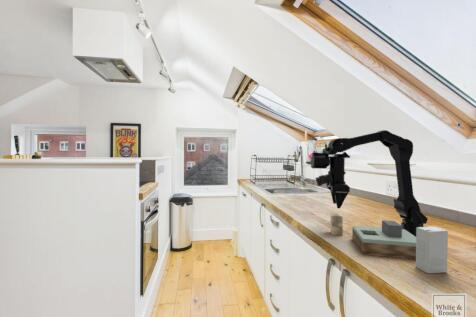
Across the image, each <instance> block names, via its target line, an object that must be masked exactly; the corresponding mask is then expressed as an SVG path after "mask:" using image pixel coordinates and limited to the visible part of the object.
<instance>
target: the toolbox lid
mask: <svg viewBox="0 0 476 317" xmlns="http://www.w3.org/2000/svg"><path fill="white" fill-rule="evenodd" d="M351 228H352V229H353V230H354V232H355V233H356V234H357V235H358V237H359V238H360V239H361V240H362V242H366V243H378V244H390V245H403V246H415V247H416V237H415V236H414V235H412V234H411V233H409V232H408V231H406V230H405V229H402V226H401V223H398V222H397V221H395V220H381V227H374V226H362V225H361V226H360V225H359V226H358V225H352V227H351ZM363 233H365V234H375V235H364V234H363Z"/></svg>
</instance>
